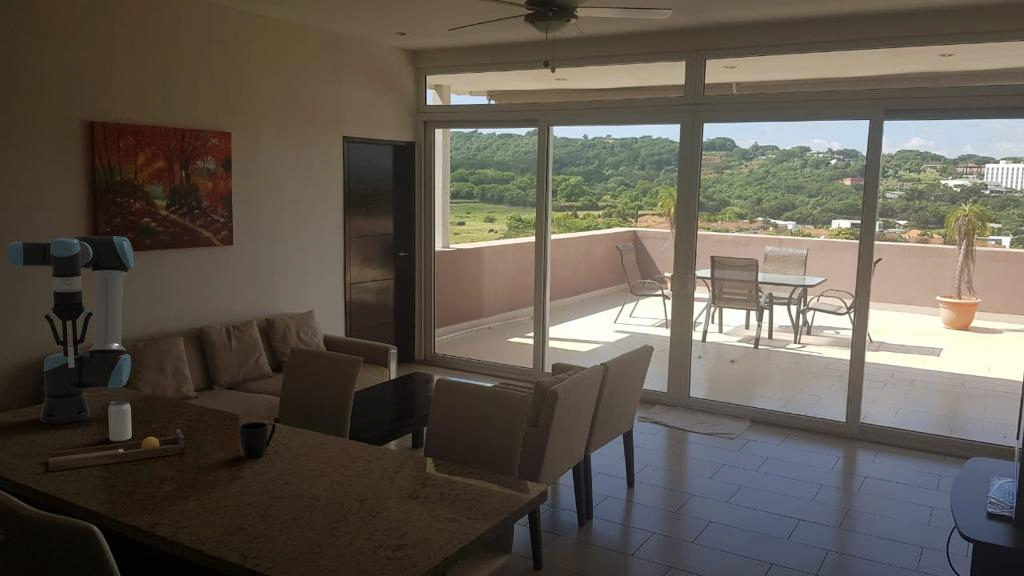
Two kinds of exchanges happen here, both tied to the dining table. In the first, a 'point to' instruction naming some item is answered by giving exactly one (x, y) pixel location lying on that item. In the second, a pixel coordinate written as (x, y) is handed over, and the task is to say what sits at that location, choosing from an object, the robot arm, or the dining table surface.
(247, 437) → the mug
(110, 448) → the lane
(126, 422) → the can
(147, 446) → the ball
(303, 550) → the dining table surface
